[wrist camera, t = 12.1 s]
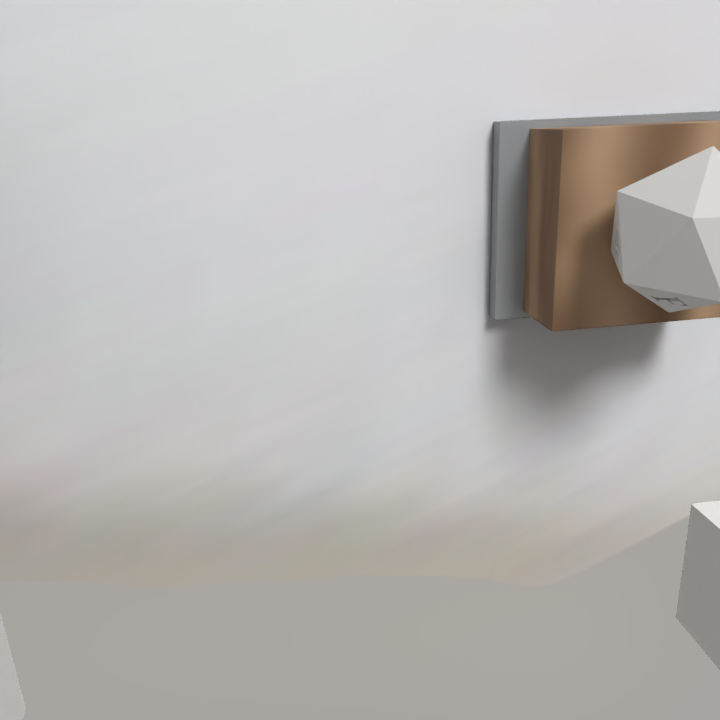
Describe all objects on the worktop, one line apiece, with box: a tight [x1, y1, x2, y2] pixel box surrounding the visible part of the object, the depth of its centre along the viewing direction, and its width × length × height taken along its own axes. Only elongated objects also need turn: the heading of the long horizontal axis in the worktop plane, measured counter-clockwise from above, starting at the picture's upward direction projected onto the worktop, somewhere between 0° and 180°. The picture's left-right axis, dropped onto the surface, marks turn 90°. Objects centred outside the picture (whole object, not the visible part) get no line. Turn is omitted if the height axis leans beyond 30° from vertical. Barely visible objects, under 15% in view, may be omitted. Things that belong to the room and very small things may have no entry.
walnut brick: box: [523, 120, 720, 331], centre depth 44 cm, size 12×12×5 cm
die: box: [611, 146, 720, 313], centre depth 38 cm, size 8×9×10 cm
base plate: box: [490, 111, 720, 320], centre depth 47 cm, size 16×13×1 cm
